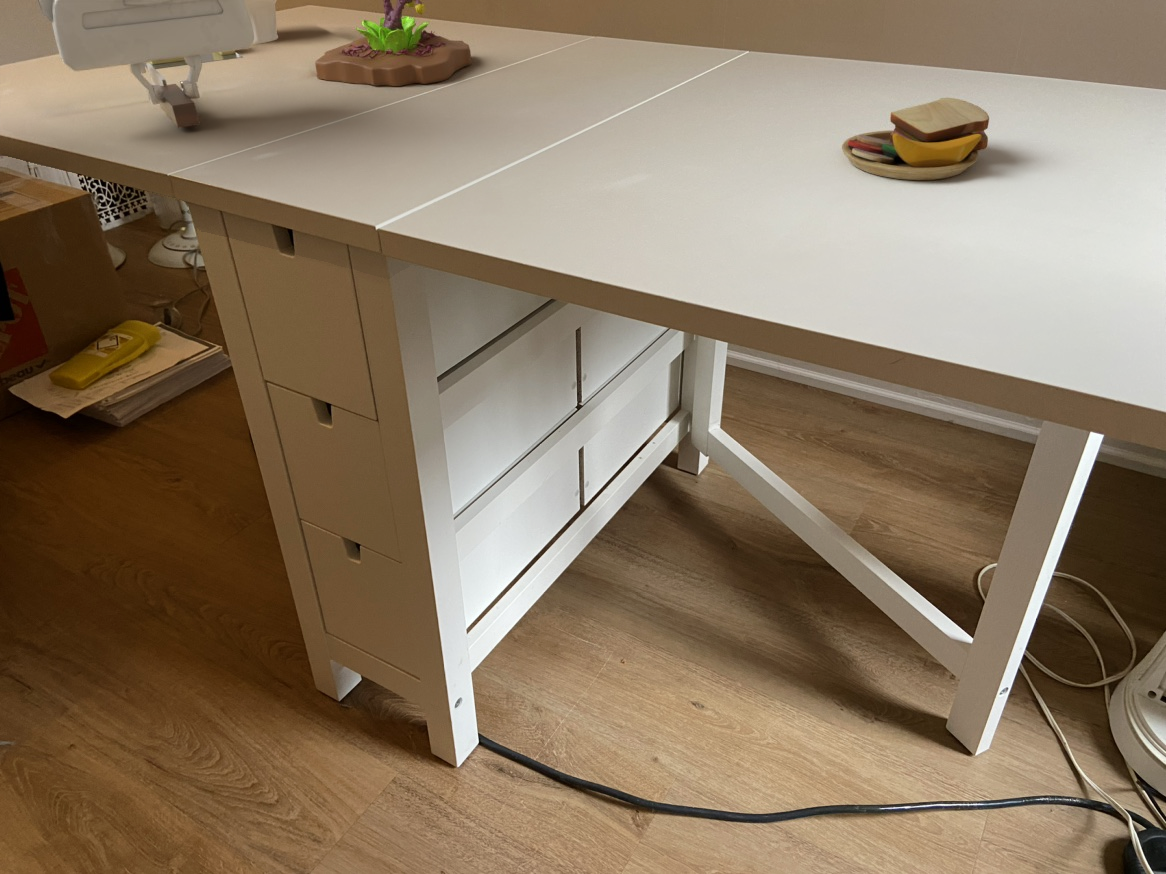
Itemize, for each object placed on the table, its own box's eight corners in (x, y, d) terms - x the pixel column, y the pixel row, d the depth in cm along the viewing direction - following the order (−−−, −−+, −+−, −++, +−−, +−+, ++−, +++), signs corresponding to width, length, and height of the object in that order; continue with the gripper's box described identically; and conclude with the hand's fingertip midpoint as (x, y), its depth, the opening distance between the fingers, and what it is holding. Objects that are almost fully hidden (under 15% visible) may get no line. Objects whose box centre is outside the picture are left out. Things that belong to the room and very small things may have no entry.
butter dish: (151, 77, 122) (148, 69, 121) (135, 62, 130) (133, 55, 130) (245, 64, 127) (243, 56, 127) (224, 50, 136) (223, 43, 135)
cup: (291, 50, 135) (275, -31, 128) (206, 56, 132) (185, -26, 126) (294, 35, 145) (279, -41, 138) (215, 40, 142) (196, -36, 136)
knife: (200, 124, 99) (192, 96, 97) (178, 127, 98) (170, 100, 96) (164, 86, 113) (158, 62, 111) (145, 89, 112) (137, 64, 110)
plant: (366, 51, 133) (353, -32, 126) (486, 56, 128) (480, -30, 122) (296, 83, 117) (278, -10, 111) (431, 89, 113) (420, -7, 106)
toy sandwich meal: (823, 146, 89) (829, 97, 87) (951, 139, 90) (961, 91, 88) (867, 187, 79) (875, 133, 76) (1010, 179, 80) (1024, 126, 77)
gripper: (31, -22, 86) (81, 121, 94) (241, -41, 95) (270, 92, 103) (26, -29, 91) (73, 109, 99) (226, -46, 100) (255, 82, 107)
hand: (175, 100), depth 101 cm, fingers closed on knife, 2 cm apart
